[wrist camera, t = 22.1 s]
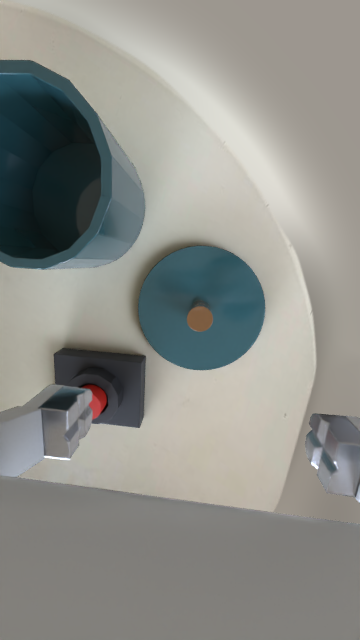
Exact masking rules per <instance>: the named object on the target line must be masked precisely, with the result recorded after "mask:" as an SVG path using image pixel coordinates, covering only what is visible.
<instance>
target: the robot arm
mask: <svg viewBox="0 0 360 640" xmlns="http://www.w3.org/2000/svg"><path fill="white" fill-rule="evenodd" d="M91 401H92V391H91V390H90V389H87V388H79V387H71V386H64V385H49V386H48V387H46V388H45V389H44V390H43V391H41V392H40V393H39V394H37V395H36V396H35V397H34V398H32V399H31V400H30V401H29V402H27V403H26V404H25V405H24V406H22V407H21V406H17V407H14V408H11V409H8V410H5V411H2V412H0V640H360V524H354V523H348V522H340V521H333V520H326V519H318V518H311V517H303V516H296V515H289V514H281V513H274V512H267V511H259V510H252V509H245V508H237V507H230V506H223V505H215V504H208V503H201V502H193V501H186V500H179V499H171V498H164V497H157V496H149V495H142V494H135V493H127V492H120V491H113V490H106V489H98V488H91V487H84V486H76V485H69V484H62V483H54V482H47V481H40V480H32V479H25V478H18V477H17V476H19V475H20V474H22V473H23V472H25V471H26V470H28V469H29V468H31V467H33V466H34V465H36V464H37V463H39V462H40V461H42V460H43V459H44V457H47V458H57V459H67V460H69V459H70V458H71V457H72V455H73V454H74V452H75V451H76V449H77V448H78V446H79V439H81V438H83V437H85V436H86V434H87V433H88V431H89V429H90V426H91V423H92V417H93V410H92V409H91V407H90V406H89V403H90V402H91ZM309 425H310V427H311V428H312V430H311V431H310V432H309V433H308V434H307V436H306V441H305V448H306V454H307V457H308V459H309V461H310V463H311V464H312V465H313V466H314V467H316V468H317V469H318V472H317V476H318V478H319V480H320V482H321V483H322V485H323V487H324V489H325V491H326V492H327V493H330V494H336V495H343V496H349V497H355V498H356V500H357V501H358V502H360V418H359V417H352V416H338V415H326V414H312V416H311V417H310V421H309Z"/></svg>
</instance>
